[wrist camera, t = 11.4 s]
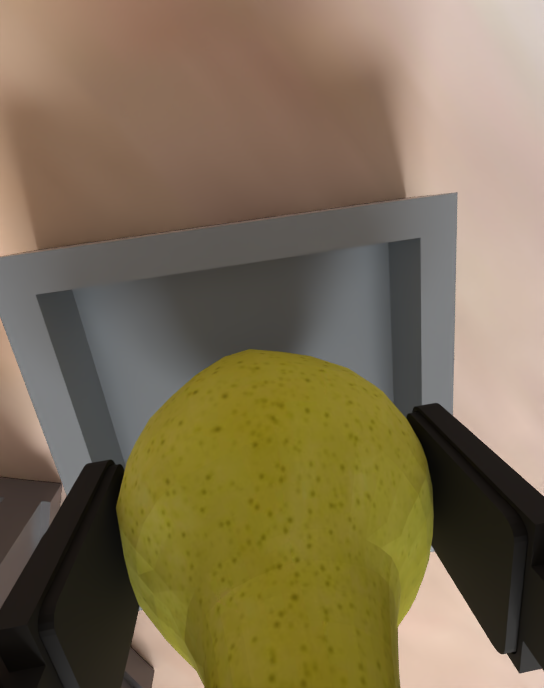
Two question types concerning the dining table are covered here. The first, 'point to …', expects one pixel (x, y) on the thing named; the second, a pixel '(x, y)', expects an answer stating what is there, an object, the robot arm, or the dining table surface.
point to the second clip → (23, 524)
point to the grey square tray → (229, 313)
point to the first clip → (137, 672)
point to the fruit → (278, 524)
